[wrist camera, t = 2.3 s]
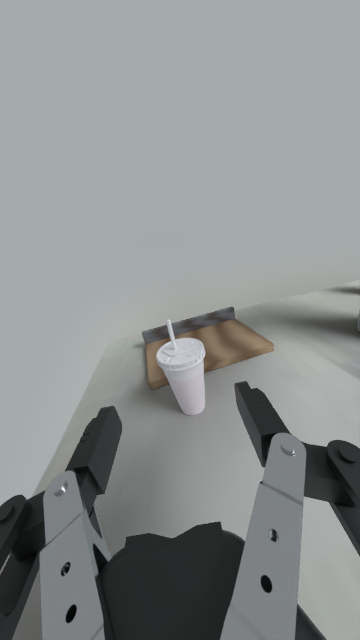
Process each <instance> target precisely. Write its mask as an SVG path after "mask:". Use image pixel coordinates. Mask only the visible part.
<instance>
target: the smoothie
mask: <svg viewBox="0 0 360 640" xmlns="http://www.w3.org/2000/svg"><path fill="white" fill-rule="evenodd" d="M166 324H167V328H168V331H169V335H170V339H171V341H170V342H168V343H166V344H164V345H163V346H162V347H161V348H160V349H159V350H158V351H157V354H156V358H157V362H158V365H159V366H160V367H161V368H162V369H163V371H164V373H165V375H166V377H167V379H168V381H169V384H170V386H171V388H172V390H173V392H174V394H175V397H176V399H177V401H178V403H179V405H180V407H181V410H182V411H183V412H184V413H185V414H187V415H197V414H199V413H201V412H202V411H203V410H204V408H205V384H204V362H203V359H204V357H205V353H206V352H205V349H204V345H203V343H202V342H201V341H199V340H197V339H194V338H180V339H176V340H175V337H174V333H173V329H172V325H171V321H170V319H166Z"/></svg>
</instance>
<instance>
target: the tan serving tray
mask: <svg viewBox="0 0 360 640" xmlns="http://www.w3.org/2000/svg"><path fill="white" fill-rule="evenodd" d="M171 325H172V329H173V333H174V337H175V340H176V339H180V338H194V339H197V340H199V341H201V342H202V343H203V345H204V349H205V352H206V353H205V357H204V359H203V362H204V373H205V372H208V371H211V370H214V369H217V368H221V367H224V366H227V365H230V364H233V363H236V362H239V361H242V360H245V359H249V358H252V357H255V356H258V355H261V354H264V353H267V352H270V351H273V350H274V349H273V343H272V342H270V341H268V340H267V339H265V338H264V337H262V336H261V335H259V334H258V333H256V332H255V331H253V330H252V329H250V328H249V327H247V326H245V325H244V324H242V323H241V322H239V321H238V320H236V319H235V314H234V308H233V307H229V308H226V309H222V310H218V311H215V312H212V313H208V314H204V315H201V316H197V317H193V318H190V319H186V320H183V321H180V322H176V323H172V324H171ZM142 335H143V338H144V341H145V344H146V356H147V368H148V380H149V385H150V388H151V390H152V389H155V388H158V387H162V386H165V385H168V384H169V381H168V379H167V377H166V375H165V373H164V371H163V369H162V368H161V367H160V366H159V365H158V362H157V358H156V354H157V351H158V350H159V349H160V348H161V347H162V346H163V345H164V344H166V343H168V342H170V341H171V339H170V335H169V331H168V328H167V325H165V326H161V327H158V328H154V329H150V330H147V331H143V332H142Z"/></svg>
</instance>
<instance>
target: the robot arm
mask: <svg viewBox="0 0 360 640" xmlns="http://www.w3.org/2000/svg"><path fill="white" fill-rule="evenodd" d="M357 330H358V331H359V332H360V310H359V316H358V322H357ZM234 385H235V394H236V402H237V406H238V410H239V412H240V415H241V417H242V419H243V422H244V424H245V427H246V429H247V431H248V434H249V436H250V439H251V441H252V443H253V446H254V448H255V451H256V453H257V455H258V458H259V460H260V462H261V465H262V467H265V471H264V476H263V479H262V482H260V484H259V486H258V490H257V494H256V499H255V503H254V507H253V511H252V516H251V520H250V524H249V528H248V533H247V537H246V541H244V540H243V539H242V538H240V537H239V536H237V535H235V534H234V533H231V532H229V531H225V530H222V527H221V522H214V523H208V524H202V525H197V526H195V527H193V528H191V529H190V530H188V531H186V532H184V533H183V534H181V535H179V536H177V537H175V538H167V537H163V536H159V535H155V534H150V533H147V534H141V535H135V536H129V537H126V543H125V547H124V548H123V549H121V550H120V551H119V552H117V553H116V554H115V555H114V556H113V557H112V555H111V553H110V550H109V548H108V546H107V543H106V540H105V537H104V534H103V530H102V527H101V523H100V520H99V516H98V513H97V510H96V506H95V504H94V502H95V498H96V495H101V494H105V490H106V487H107V483H108V480H109V476H110V472H111V469H112V465H113V462H114V458H115V454H116V451H117V447H118V444H119V440H120V436H121V433H122V423H121V420H120V418H119V416H118V414H117V411H116V409H115V407H114V406H110V407H104V408H101V409H100V411H99V413H98V415H97V417H96V418H93V419H92V421H91V422H90V423H89V424H88V425H87V427H86V429H85V431H84V433H83V436H82V437H81V439H80V441H79V443H78V445H77V447H76V449H75V451H74V453H73V456H72V458H71V460H70V462H69V464H68V466H67V468H66V470H65V472H63V473H61V474H60V475H58V476H57V477H56V478H55V479H54V480H53V481H52V482H51V483H50V484H49V486H48V487H47V489H46V490H45V491H43V492H41V493H40V494H38V495H36V496H34V497H32V498H30V499H28V500H26V498H25V497H24V496H23V495H17V496H14V497H12V498H11V499H9V500H7V501H6V502H5V503H4V504H2V505H1V506H0V570H1V568H2V566H3V564H4V562H5V560H6V558H7V557H8V555H9V554H10V557H9V559H8V561H7V563H6V565H5V567H4V569H3V571H2V573H1V575H0V640H12V637H13V635H14V632H15V630H16V627H17V624H18V622H19V619H20V617H21V614H22V611H23V609H24V606H25V604H26V601H27V598H28V596H29V593H30V591H31V588H32V585H33V583H34V580H35V578H36V575H37V572H38V570H39V567H40V590H41V620H42V640H326V638H325V637H324V636H323V635H322V633H321V632H320V631H319V630H318V629H317V627H316V626H315V625H314V624H313V622H312V621H311V620H310V619H309V617H308V616H307V615H306V614H305V612H304V611H303V610H302V609H301V607H300V606H299V605H298V604H297V597H298V581H299V565H300V549H301V533H302V517H303V499H304V496H305V497H310V498H314V499H318V500H323V501H327V502H329V504H330V505H331V507H332V509H333V511H334V512H335V514H336V516H337V518H338V519H339V521H340V523H341V525H342V526H343V528H344V530H345V532H346V533H347V535H348V537H349V539H350V540H351V542H352V544H353V545H354V547H355V549H356V551H357V552H358V554H359V556H360V449H359V448H358V447H357V446H355V445H353V444H351V443H349V442H346V441H342V440H333V441H331V442H329V444H328V445H327V447H324V446H317V445H310V444H306V443H304V442H301V441H300V440H299V439H298V438H296V437H295V436H293V435H292V434H291V433H290V432H289V431H288V429H287V428H286V426H285V425H284V423H283V422H282V420H281V418H280V417H279V415H278V414H277V412H276V411H275V409H274V408H273V406H272V405H271V403H270V402H269V400H268V398H267V397H266V395H265V394H264V393H263V392H262V391H260V390H259V389H258V388H254V389H251V388H250V386H249V385H248V383H247V382H246V381H244V382H239V383H235V384H234Z"/></svg>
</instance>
